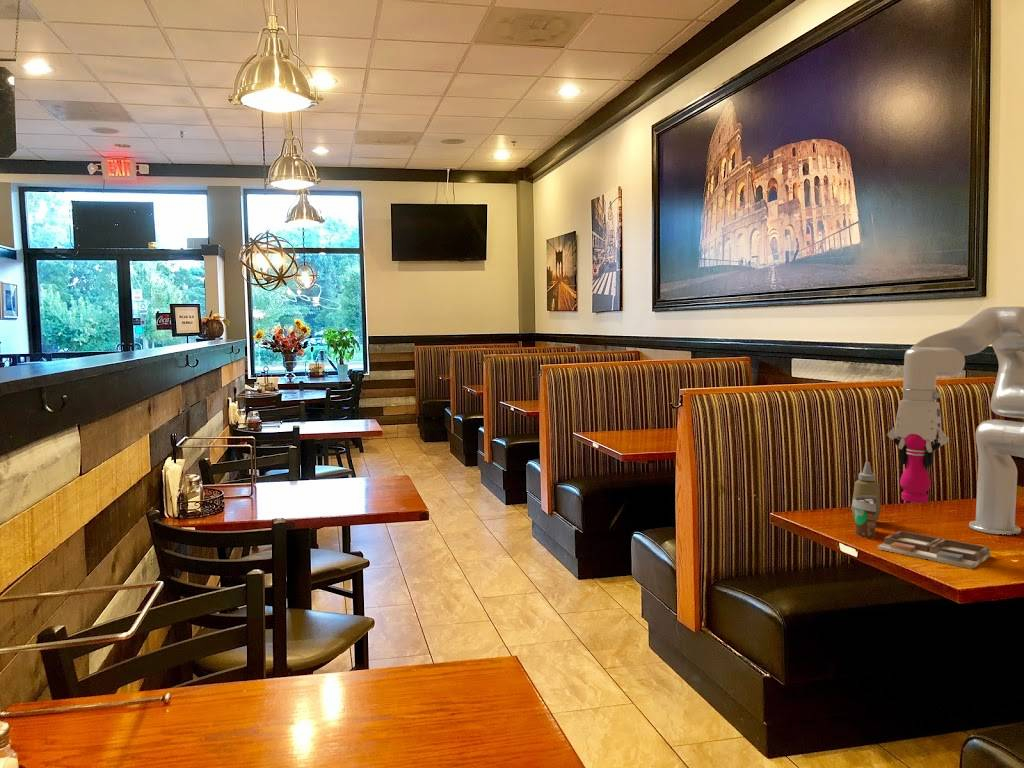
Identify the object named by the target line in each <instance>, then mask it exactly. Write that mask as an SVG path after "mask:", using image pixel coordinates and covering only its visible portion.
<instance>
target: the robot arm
mask: <svg viewBox="0 0 1024 768" xmlns="http://www.w3.org/2000/svg"><path fill="white" fill-rule="evenodd" d="M990 345H991V347H992V349H993V350H994V354H995V355H996V359H997V361H998V371H997V375H996V378H995V384H994V386H993V390H992V394H991V399H990V409H991V411H992V412H993V413H994V414H995V415H998V416H1002V417H1006V418H1015V419H1024V306H992V307H987V308H985V309H982V310H980V312H978V313H977V314H976V315H974V316H973V317H971V318H969V319H968V320H967V321H965V322H964V323H962V324H961V325H959V326H957V327H954V328H951V329H947V330H944V331H942V332H938V333H935V334H932V335H929V336H927V337H924V338H923V339H921V340H920V341H917V342H916V343H914V344H913V345H912V346H911V347H910V348H909V349H906V351H905V353H904V356H903V357H904V360H903V362H904V363H903V384H902V385H903V386H902V389H903V390H902V400H901V399H900V400H899V404H898V407H897V412H896V418H895V425H894V426H893V427H892V429H890V431H888V432H887V434H886V435H887V437H888V438H889V439H890V440H892V441H893V443H894V444H895V445H896V446H897V447H898V449H899V461H900V465H907V461H908V454H906V451H907V450H906V448H908V447H907V445H906V444H905V441H904V438H906V436H908V435H909V434H917V435H919V436H921V437H922V438H923V440H925V441H926V449H927V452H925V460H924V467H926V469H928V468H931V467H932V465H933V464H934V459H935V458H934V457H935V456H934V454H935V452H936V451H937V450H938V449H939V448H940V447H942V446H943V445H945V444H946V443H949V441H950V439H949V437H947V435H946V434H945V433H944V431H943V429H942V414H941V406H940V402H938V401H937V399H941V398H942V395H943V394H942V393H941V392H938V390H937V377H954V376H956V375H957V376H958V374H960V373H961V372H962V371H963V369H964V368H965V364H966V359H965V356H970V355H975V354H978V353H980V352H983V351H984V350H985V349H986V348H987V347H988V346H990ZM936 440H938V441H937V442H935V441H936ZM975 443H976V449H977V456H978V457H977V458H978V459H977V460H978V461H977V462H978V463H977V465H978V467H977V482H976V483H977V485H976V502H975V503H976V505H975V520H970V521H969V522H968V523H969V524H968V527H969V528H970V529H971V530H974V531H977V532H981V533H987V534H991V535H999V534H1002V536H1015V535H1014V534H1016V535H1020V534H1021V532H1022V528H1021V527H1020V526H1018V525H1015V524H1016V508H1017V507H1016V504H1017V490H1018V489H1017V487H1018V468H1017V465H1016V463H1015V461H1014V459H1013V458H1012V456H1015V457H1022V458H1024V422H1022V421H1015V420H1006V419H1005V420H1004V419H987V420H983V421H982V422H981V423H980V424H979V425H978V426H977V427H976V431H975ZM1004 534H1005V535H1004ZM1006 534H1007V535H1006ZM1012 534H1013V535H1012Z"/></svg>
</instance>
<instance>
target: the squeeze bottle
mask: <svg viewBox="0 0 1024 768" xmlns="http://www.w3.org/2000/svg"><path fill="white" fill-rule="evenodd" d="M876 477H877V475H876V474H875V473H873V472H872V466H871V462H870V461H865V463H864V467H863V470H862V472H859V473H858V480H856V481H855V482H854V487H853V494H852V499H851V504H852V503H853V500H854V499H855V497H857V496H865V495H869V496H877V504H876V523H877V522H878V519H879V517H880V515H881V512H882V509H881V507H882V506H881V494H880V483H879V482H877V481H876V479H877V478H876ZM850 508H851V512H852V515H853V516H852V517H853V520H855V507H853V506H852V505H851V506H850Z"/></svg>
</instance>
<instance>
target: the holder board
mask: <svg viewBox="0 0 1024 768" xmlns="http://www.w3.org/2000/svg"><path fill="white" fill-rule="evenodd" d="M883 538H884V539H883V543H881V544H879V545H877V549H880V550H879V551H881V550H884V551H883V552H886V551H889V552H888V553H891V552H895V553H894V554H896V553H900V554H899V555H901V554H905V555H909V556H908V557H910V556H914V557H913V558H915V557H918V558H917V559H920V558H922V559H921V560H925V559H928V560H927V561H930V560H932V561H931V562H935V561H937V562H936V563H939V562H941V563H940V564H944V563H945V564H946V565H951V566H955V567H960V568H964V569H965V568H966V569H968V570H973V569H975V568H976V567H977V566H979V565H980V564H981V563H983V562H984V561H986V560H987V559H989V558H990V557H991V556H992V552H990V547H989V546H985V545H979V544H974V543H968V542H965V541H964V542H963V541H958V540H953V539H948V538H942V537H936V536H931V535H926V534H920V533H915V532H909V531H904V530H897V531H896V532H893V533H892V534H889V535H888V536H885V537H883ZM905 555H904V556H905Z"/></svg>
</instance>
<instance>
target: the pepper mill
mask: <svg viewBox="0 0 1024 768" xmlns="http://www.w3.org/2000/svg"><path fill="white" fill-rule="evenodd" d="M904 441H905V444H906V445H907V448H906V450H907V451H906V454H908V461H907V464H906V467H905V468H904V471H903V472H902V474H901V477H900V480H899V487H901V489H902V490H903V491H902V492H901V495H900V499H901V500H902V501H904V502H907V503H909V502H910V503H916V504H917V503H918V504H922V503H923V504H924V503H927V502H929V494H928V493H927V492H928V491H929V490H930V489H931V487H932V484H931V483H932V482H931V477H930V476H929V474H928V470H927V468H926V467H924V460H925V452H927V448H926V441H925V440H923V438H922V437H921V436H919V435H917V434H909V435H908V436H906V438H904Z"/></svg>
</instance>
